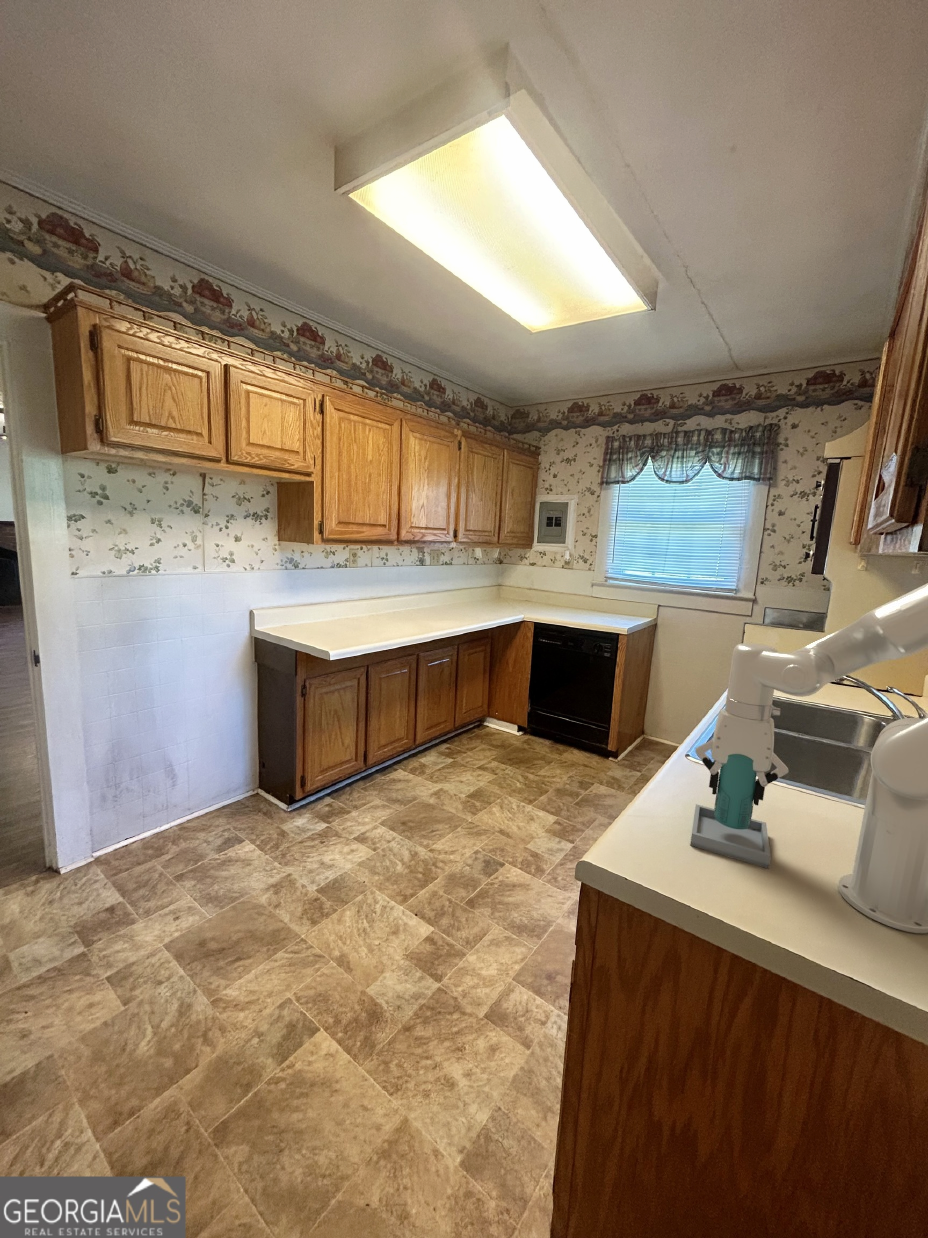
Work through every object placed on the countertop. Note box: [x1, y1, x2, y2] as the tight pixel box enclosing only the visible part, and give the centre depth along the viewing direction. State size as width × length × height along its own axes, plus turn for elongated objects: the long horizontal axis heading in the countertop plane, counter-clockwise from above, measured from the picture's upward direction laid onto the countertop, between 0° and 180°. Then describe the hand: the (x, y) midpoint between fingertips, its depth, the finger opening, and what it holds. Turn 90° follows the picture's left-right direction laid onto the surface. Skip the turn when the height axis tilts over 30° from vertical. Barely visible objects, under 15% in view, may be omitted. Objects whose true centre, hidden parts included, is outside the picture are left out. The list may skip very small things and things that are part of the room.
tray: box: [689, 804, 772, 870], centre depth 98 cm, size 13×13×2 cm
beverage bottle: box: [713, 754, 757, 829], centre depth 97 cm, size 6×7×20 cm
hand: (734, 796), depth 97 cm, fingers closed on beverage bottle, 6 cm apart
